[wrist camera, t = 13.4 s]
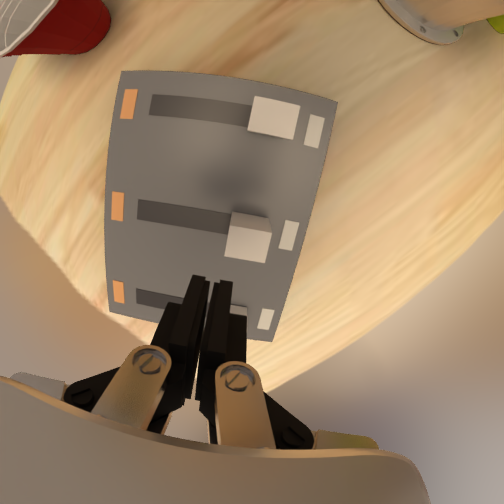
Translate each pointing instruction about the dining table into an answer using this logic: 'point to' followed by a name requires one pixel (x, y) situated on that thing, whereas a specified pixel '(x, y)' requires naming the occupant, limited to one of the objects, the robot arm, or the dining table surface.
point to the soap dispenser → (497, 23)
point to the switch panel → (205, 191)
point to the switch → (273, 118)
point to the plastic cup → (51, 26)
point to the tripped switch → (248, 237)
